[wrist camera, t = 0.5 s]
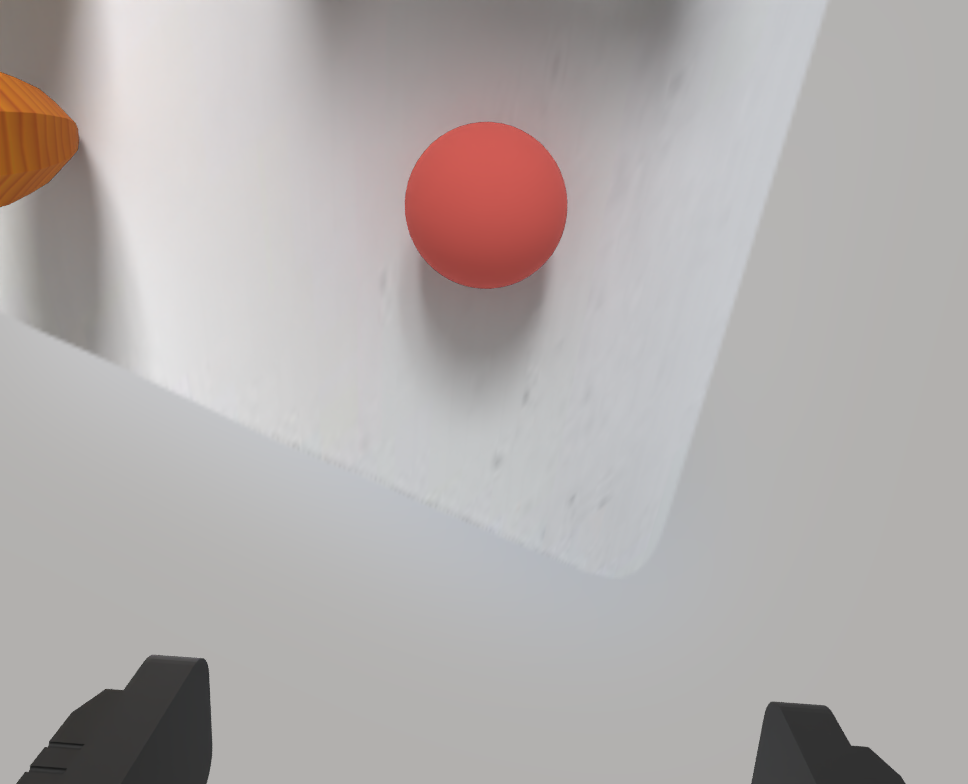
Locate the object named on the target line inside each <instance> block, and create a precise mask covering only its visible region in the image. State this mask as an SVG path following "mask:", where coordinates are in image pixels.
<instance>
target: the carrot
mask: <svg viewBox="0 0 968 784" xmlns="http://www.w3.org/2000/svg"><path fill="white" fill-rule="evenodd" d="M78 144H79V136H78V128H77V126H76V123H75V122H74V121H73V120H72V119H71V118H70V117H69V116H68V115H67V114H66V113H65V112H64V111H63V110H62V109H61V108H60V107H59V106H58V105H57V104H56V102H54V101H53V100H52V99H51V98H50V97H48V96H47V95H46V94H45V93H44V92H42V91H41V90H40V89H39V88H37V87H34V86H32V85H30V84H28V83H26V82H24V81H22V80H20V79H17V78H15V77H12V76H10V75H7V74H4V73H2V72H0V207H2V206H6V205H9V204H11V203H13V202H15V201H17V200H19V199H21V198H23V197H25V196H27V195H29V194H31V193H32V192H34V191H35V190H37V189H39V188H40V187H42V186H43V185H45V184H47V183H48V182H49V181H50V180H51V179H52V178H53V177H54V176H55V175H56V174H57V173H58V172H59V171H60V170H61V168H62V167H63V166H64V165H65V164H66V163H67V162H68V161H69V160H70V159H71V158H72V156H73V155H74V154H75V153H76V152H77V150H78Z"/></svg>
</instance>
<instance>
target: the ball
mask: <svg viewBox="0 0 968 784" xmlns="http://www.w3.org/2000/svg"><path fill="white" fill-rule="evenodd" d="M405 215H406V221H407V226H408V230H409V233H410V236H411V238H412V240H413V243H414V245H415V246H416V248H417V250H418V251H419V253H420V254H421V256H422V257H423V258H424V259H425V261H426V262H427V263H428V264H429V265H430V266H431V267H432V268H433V269H434V270H436V271H437V272H438V273H440V274H441V275H442V276H444V277H446V278H448V279H449V280H451V281H453V282H456V283H458V284H461V285H464V286H468V287H473V288H485V289H491V288H499V287H504V286H508V285H512V284H514V283H517V282H519V281H521V280H523V279H525V278H527V277H528V276H530V275H531V274H533V273H534V272H535V271H537V270H538V269H539V268H540V267H541V266H542V265H543V264H544V263H545V262H546V261H547V260H548V259H549V257H550V256H551V255H552V254H553V252H554V250H555V249H556V247H557V245H558V243H559V241H560V239H561V236H562V234H563V230H564V227H565V223H566V216H567V194H566V188H565V184H564V180H563V177H562V174H561V172H560V169H559V168H558V166H557V164H556V162H555V160H554V159H553V157H552V156H551V155H550V153H549V152H548V151H547V150H546V149H545V147H544V146H543V145H542V144H541V143H540V142H538V141H537V140H536V139H535V138H533V137H532V136H530V135H529V134H527V133H525V132H524V131H522V130H520V129H517V128H515V127H513V126H509V125H505V124H502V123H494V122H478V123H471V124H467V125H463V126H460V127H457V128H455V129H453V130H451V131H449V132H447V133H445V134H444V135H442V136H440V137H439V138H438V139H437V140H435V141H434V142H433V143H432V144H431V145H430V146H429V147H428V148H427V149H426V150H425V151H424V153H423V154H422V155H421V157H420V158H419V160H418V161H417V163H416V165H415V167H414V169H413V170H412V173H411V175H410V178H409V181H408V185H407V189H406V196H405Z"/></svg>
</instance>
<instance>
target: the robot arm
mask: <svg viewBox="0 0 968 784" xmlns="http://www.w3.org/2000/svg"><path fill="white" fill-rule="evenodd" d="M211 730H212V729H211V706H210V685H209V669H208V664H207V662H206V660H205V659H203V658H191V657H177V656H163V655H151V656H149V657H148V658H147V659H146V660H145V661H144V663H143V664H142V665H141V667H140V668H139V669H138V671H137V672H136V674H135V675H134V676H133V678H132V679H131V681H130V682H129V683H128V685H127V686H126V688H125V689H124V690H112V689H105V690H104V691H102V692H101V693H100V694H98V695H97V696H95V697H94V698H92V699H91V700H89V701H88V702H86V703H85V704H84V705H82V706H81V707H79V708H78V709H76V710H75V711H73V712H72V713H71V714H70V716H69V717H68V718H67V719H66V721H65V722H64V724H63V725H62V726H61V727H60V728H59V730H58V731H57V732H56V734H55V735H54V736H53V737H52V739H51V740H50V741H49V746H48V747H45V748H44V749H43V750H42V752H41V753H40V754H39V755H38V756H37V758H36V759H35V760H34V762H33V763H32V764H31V766H30V770H29V772H25V773H24V775H23V776H22V777H21V778H20V779H19V781H18V782H17V784H206V783H207V780H208V776H209V771H210V766H211V759H212V731H211ZM751 784H905V782H904V781H903V779H902V777H901V776H900V775H899V774H898V773H897V772H895V771H894V770H893V769H892V768H891V767H890V766H889V765H888V764H886V763H885V762H884V761H883V760H882V759H881V758H880V757H879V756H878V755H877V754H875V753H874V752H873V751H872V750H871V749H870V748H868V747H861V746H851V745H850V743H849V741H848V740H847V738H846V736H845V734H844V732H843V731H842V729H841V727H840V726H839V724H838V722H837V720H836V718H835V717H834V715H833V713H832V712H831V710H830V709H829V708H828V707H826V706H824V705H811V704H798V703H784V702H770V704H769V705H768V706H767V708H766V711H765V715H764V720H763V725H762V731H761V736H760V741H759V747H758V751H757V757H756V762H755V767H754V773H753V778H752V783H751Z"/></svg>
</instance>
